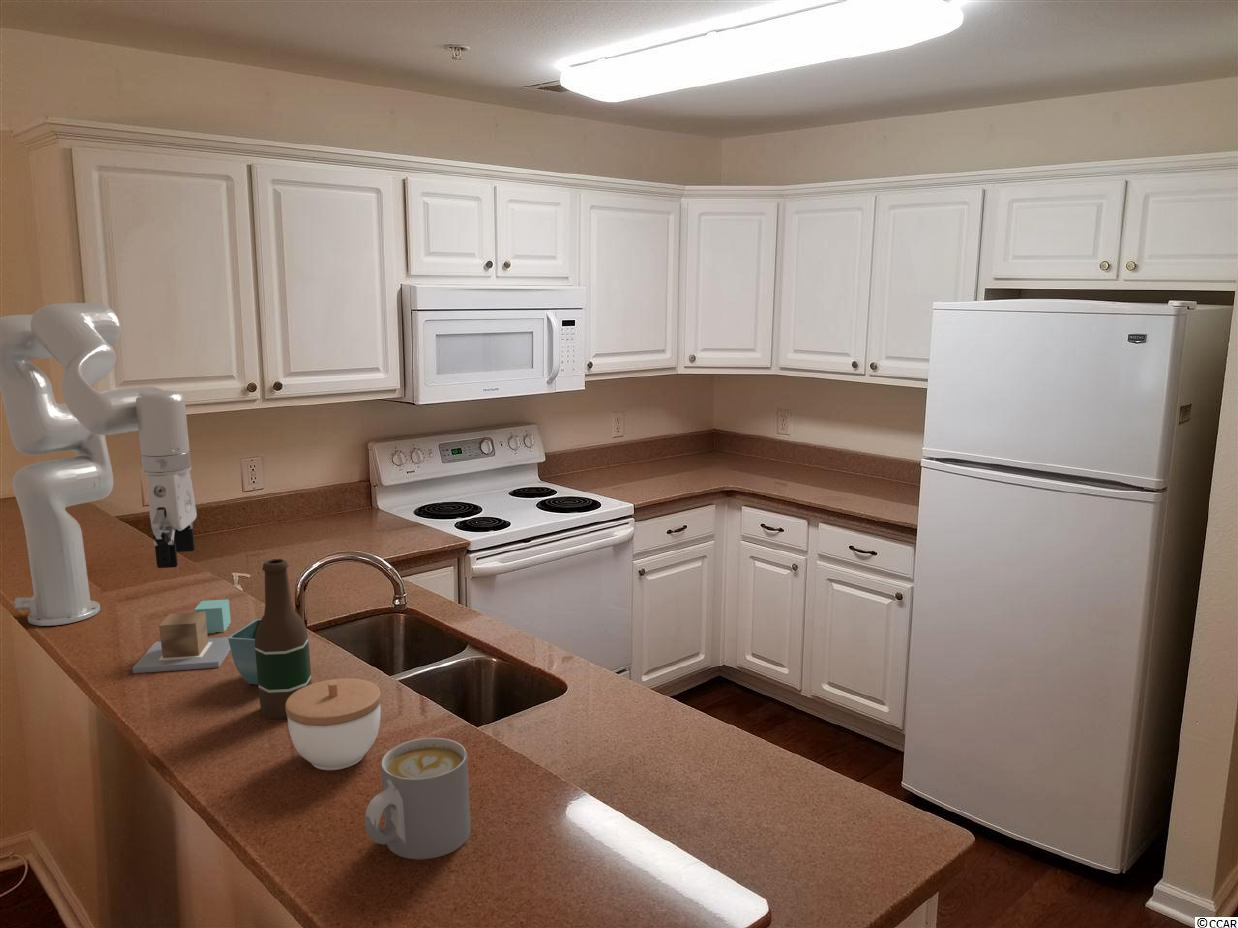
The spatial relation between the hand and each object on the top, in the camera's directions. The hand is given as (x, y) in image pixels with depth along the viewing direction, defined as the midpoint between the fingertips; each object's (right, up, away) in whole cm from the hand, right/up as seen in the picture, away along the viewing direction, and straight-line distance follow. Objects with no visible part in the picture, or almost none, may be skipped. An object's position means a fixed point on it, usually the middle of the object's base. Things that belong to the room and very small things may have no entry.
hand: (176, 558), depth 163 cm
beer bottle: (+26, -22, -18) cm, 38 cm away
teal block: (-1, -15, +17) cm, 23 cm away
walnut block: (0, -17, +3) cm, 17 cm away
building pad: (0, -18, +3) cm, 18 cm away
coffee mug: (+53, -28, -52) cm, 80 cm away
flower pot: (+19, -20, -7) cm, 28 cm away
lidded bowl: (+38, -25, -33) cm, 56 cm away
